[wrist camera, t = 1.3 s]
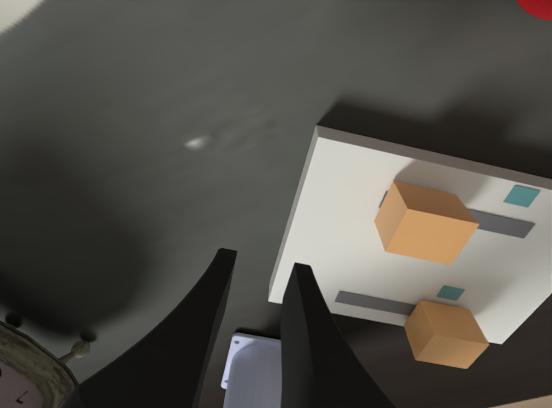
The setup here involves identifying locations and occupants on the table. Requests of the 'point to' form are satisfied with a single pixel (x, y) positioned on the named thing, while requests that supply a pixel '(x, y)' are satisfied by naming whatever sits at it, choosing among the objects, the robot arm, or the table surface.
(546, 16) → the beverage can
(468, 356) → the tan wooden block
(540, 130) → the table surface
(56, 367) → the tabletop clock
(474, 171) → the switch panel
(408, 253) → the orange small block
